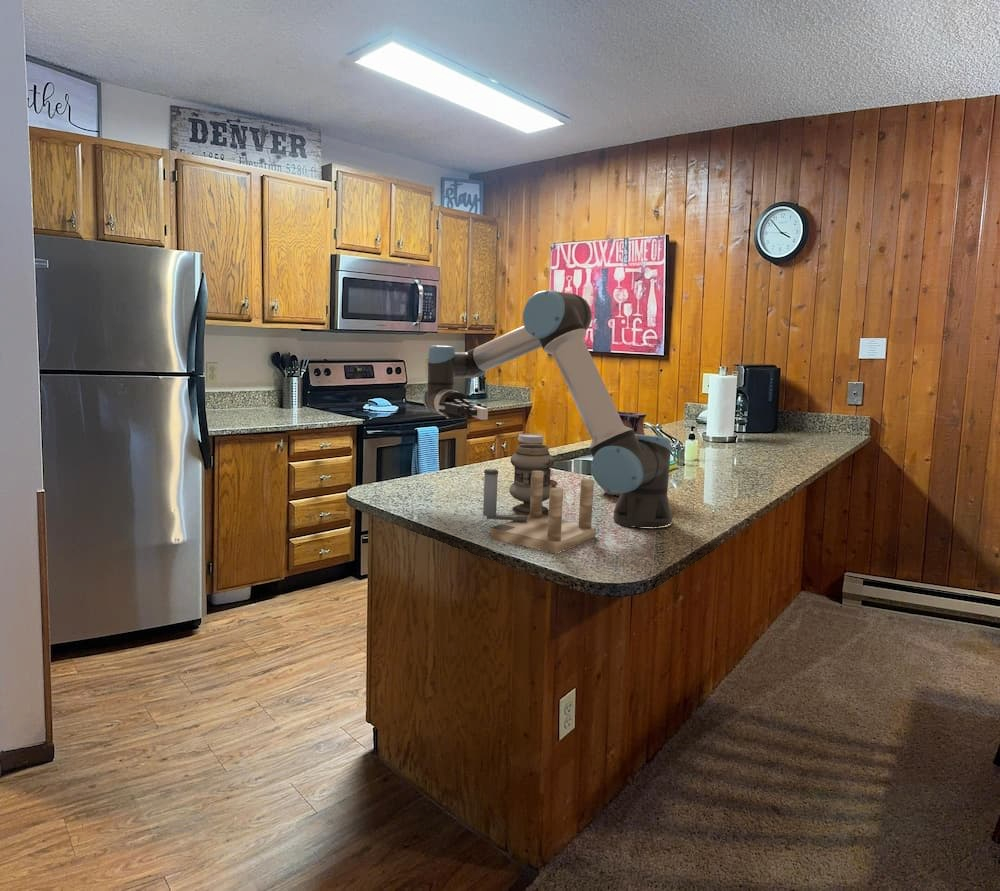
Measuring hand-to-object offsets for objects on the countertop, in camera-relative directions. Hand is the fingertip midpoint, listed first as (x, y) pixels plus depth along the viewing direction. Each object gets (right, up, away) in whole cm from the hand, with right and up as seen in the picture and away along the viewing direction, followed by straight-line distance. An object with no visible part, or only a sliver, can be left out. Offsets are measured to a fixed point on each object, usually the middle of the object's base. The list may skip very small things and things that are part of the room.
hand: (485, 414), depth 174 cm
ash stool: (+14, -30, -6) cm, 33 cm away
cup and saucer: (+16, -21, +50) cm, 57 cm away
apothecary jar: (+12, -26, +20) cm, 34 cm away
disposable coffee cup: (+14, -16, +82) cm, 84 cm away
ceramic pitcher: (+41, -23, +47) cm, 66 cm away
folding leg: (+5, -26, -1) cm, 26 cm away
